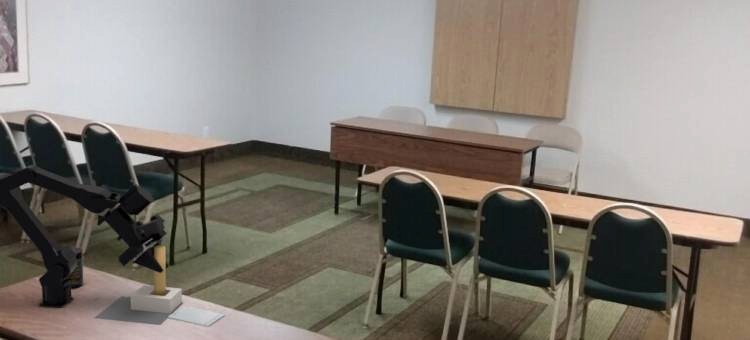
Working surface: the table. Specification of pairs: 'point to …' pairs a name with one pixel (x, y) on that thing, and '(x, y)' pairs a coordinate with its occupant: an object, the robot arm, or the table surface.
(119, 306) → the mat
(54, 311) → the table surface
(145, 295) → the hole block
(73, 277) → the supplement container
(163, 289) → the peg
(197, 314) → the hard drive
